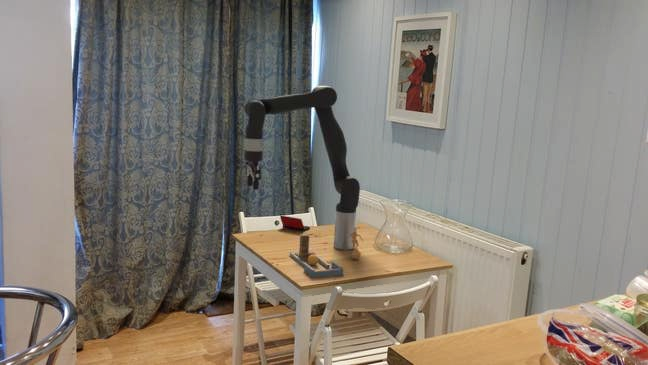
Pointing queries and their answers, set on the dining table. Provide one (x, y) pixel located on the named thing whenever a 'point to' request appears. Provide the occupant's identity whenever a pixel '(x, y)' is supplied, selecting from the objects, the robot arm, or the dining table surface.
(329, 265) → the rails
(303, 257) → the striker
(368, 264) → the dining table surface
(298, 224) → the red slanted panel
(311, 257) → the ball
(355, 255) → the figurine
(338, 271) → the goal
